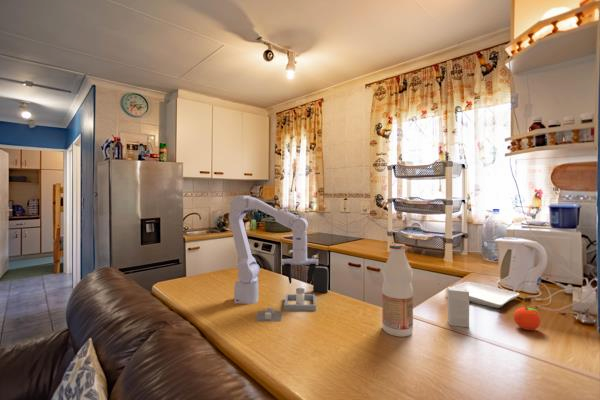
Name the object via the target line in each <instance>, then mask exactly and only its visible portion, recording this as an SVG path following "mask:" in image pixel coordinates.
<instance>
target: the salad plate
mask: <svg viewBox="0 0 600 400" xmlns="http://www.w3.org/2000/svg"><path fill="white" fill-rule="evenodd" d="M452 287H457V288H466V289H467V290H468V292H469V302H471V303H474V304H477V305H481V306H482V305H483V306H484V307H485V306H486V307H490V308H497V309H498V308H502V307H503V306H504V305H505V304H507V303H508V302H510V301H513V300H514V299H516V298H518V297H519V296H520V293H519V292H517V291H516V292H515V291H510V290H507V289H504V288H503V289H502V288H498V287H494V286H490V285H486V284H481V283H477V282H472V281H465V282H462V283H458V284H456V285H454V286H452ZM445 291H446V292H447V293H448V291H447V288H446V289H445Z"/></svg>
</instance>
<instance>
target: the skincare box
mask: <svg viewBox="0 0 600 400" xmlns="http://www.w3.org/2000/svg"><path fill="white" fill-rule="evenodd" d="M446 289H447V291H448V292H447V291H446V292H447V321H448V324H449V326H455V327H462V328H470V301H469V292H468V290H467V289H466V288H457V287H453V286H447V288H446Z"/></svg>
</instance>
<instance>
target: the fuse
mask: <svg viewBox="0 0 600 400" xmlns="http://www.w3.org/2000/svg"><path fill="white" fill-rule="evenodd" d="M295 294H296V300H295V305H305V300H304V294H305V288H303V287H297V288H296V289H295Z"/></svg>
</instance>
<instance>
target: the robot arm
mask: <svg viewBox="0 0 600 400" xmlns="http://www.w3.org/2000/svg"><path fill="white" fill-rule="evenodd" d="M232 198H233V199H232V200H231V201H230V202H229V205H230V208H229V212H228V222H229V225H230V230H231V233H232V237H233V240H234V245H235V248H236V252H237V256H238V263H237V271H238V272H237V278H238V279H239V280H236V281H235V283H234V287H233V288H234V294H233V296H234V298H233V299H234V304H244V305H250V304H256V303H258V302H259V278H258V277H259V275H260V272H261V267H260V265H259V264H258V263H257V260H256V258H255V257H254V256H253V255H252V251H251V247H250V243H249V239H248V236H247V231H246V229H245V228H246V227H245V224H244V220H243V219H244V218H245V216H246V215H247V213H248V212H250V211H251V210H258V211H259V212H262V213H263V214H267V215H269V216H271V217H273V218H274V220H275V222H276V223H278V224H280V225H282V226H284V227H286V228H288V229H291V232H292V258H282V259H281V266H283V268H284V270H285V272H286V275H287V278H288V283H289V284H292V265H295V266H296V265H298V266H299V265H301V266H302V265H304V266H305V265H307V266H309V267H308V270H309V271H308V284H311V283H312V279H313V272H314V270H315V268H316V266H319V259H318V258H308V231H307V229H308V228H309V223H308V220H307V219H306V218H305V217H302V216H301V217H299V215H298V214H293V213H292V212H290V211H289V209H288V208H281V209H277V208H275V207H274V206H272V205H270V204H268V203H266V202H264V201H263V200H261V199H259V198H257V197H254V196H251V195H249V194H247V195H236V196H234V197H232Z"/></svg>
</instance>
